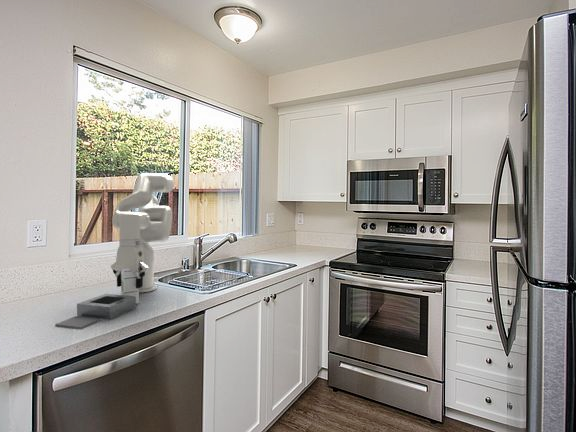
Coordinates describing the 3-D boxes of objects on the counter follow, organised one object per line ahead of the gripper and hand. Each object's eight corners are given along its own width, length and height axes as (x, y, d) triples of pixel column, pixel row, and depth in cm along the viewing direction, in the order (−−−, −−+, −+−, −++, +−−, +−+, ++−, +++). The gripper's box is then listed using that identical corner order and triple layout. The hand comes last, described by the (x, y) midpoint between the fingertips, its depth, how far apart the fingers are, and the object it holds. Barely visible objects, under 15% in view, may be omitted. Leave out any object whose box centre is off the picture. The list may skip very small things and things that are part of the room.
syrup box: (139, 303, 134) (139, 267, 134) (122, 305, 131) (122, 269, 130) (136, 299, 139) (136, 265, 138) (120, 302, 135) (120, 266, 135)
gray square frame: (105, 305, 131) (105, 293, 131) (135, 308, 128) (135, 296, 128) (77, 316, 118) (76, 303, 118) (109, 320, 115) (109, 307, 115)
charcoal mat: (75, 317, 116) (75, 316, 116) (100, 320, 114) (100, 318, 114) (55, 325, 109) (55, 324, 109) (81, 329, 107) (81, 327, 107)
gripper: (154, 243, 136) (154, 286, 136) (117, 241, 139) (117, 283, 140) (142, 245, 128) (142, 290, 129) (104, 243, 132) (104, 287, 133)
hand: (129, 286), depth 134 cm, fingers open, 8 cm apart
